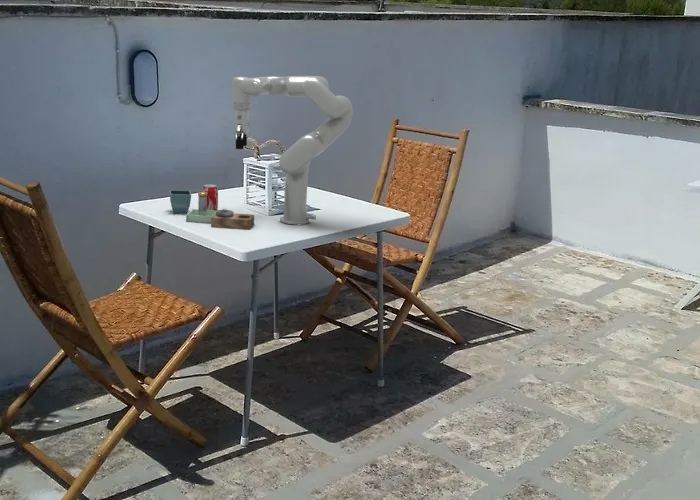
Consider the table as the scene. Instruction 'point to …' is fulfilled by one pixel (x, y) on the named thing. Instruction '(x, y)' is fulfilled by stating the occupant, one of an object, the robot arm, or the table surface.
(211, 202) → the soda can
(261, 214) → the table surface
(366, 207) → the table surface
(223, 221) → the block
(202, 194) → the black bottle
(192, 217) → the tray
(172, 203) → the flower pot
